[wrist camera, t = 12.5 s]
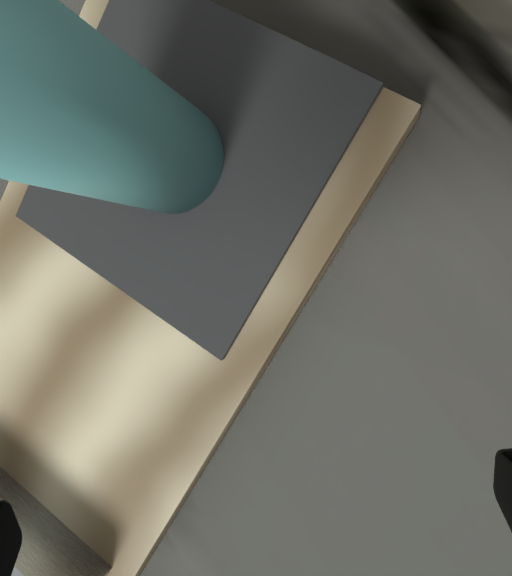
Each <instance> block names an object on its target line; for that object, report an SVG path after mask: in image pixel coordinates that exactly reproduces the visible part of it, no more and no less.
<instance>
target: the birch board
mask: <svg viewBox="0 0 512 576" xmlns="http://www.w3.org/2000/svg"><path fill="white" fill-rule="evenodd" d="M108 2H109V0H86V1H85V3H84V6H83V8H82V11H81V13H80V15H79V17H80V18H82V19H83V20H84V21H86V22H87V23H88V24H89V25H91V26H92V27H93V28H95V29H97V27H98V25H99V22H100V20H101V18H102V15H103V13H104V11H105V8H106V6H107V4H108ZM420 109H421V105H420V104H418V103H416V102H414V101H412V100H410V99H408V98H406V97H404V96H402V95H400V94H397V93H395V92H393V91H391V90H389V89H387V88H385V87H383V89H382V90H381V92H380V94H379V96H378V97H377V99H376V101H375V102H374V104H373V106H372V108H371V109H370V111H369V113H368V114H367V116H366V118H365V120H364V121H363V123H362V125H361V126H360V128H359V130H358V131H357V133H356V135H355V137H354V138H353V140H352V142H351V143H350V145H349V147H348V149H347V150H346V152H345V154H344V155H343V157H342V159H341V161H340V162H339V164H338V166H337V167H336V169H335V171H334V173H333V174H332V176H331V178H330V179H329V181H328V183H327V185H326V186H325V188H324V190H323V191H322V193H321V195H320V196H319V198H318V200H317V202H316V203H315V205H314V207H313V208H312V210H311V212H310V214H309V215H308V217H307V219H306V220H305V222H304V224H303V226H302V227H301V229H300V231H299V232H298V234H297V236H296V238H295V239H294V241H293V243H292V244H291V246H290V248H289V250H288V251H287V253H286V255H285V256H284V258H283V260H282V261H281V263H280V265H279V267H278V268H277V270H276V272H275V273H274V275H273V277H272V279H271V280H270V282H269V284H268V285H267V287H266V289H265V291H264V292H263V294H262V296H261V297H260V299H259V301H258V303H257V304H256V306H255V308H254V309H253V311H252V313H251V315H250V316H249V318H248V320H247V321H246V323H245V325H244V326H243V328H242V330H241V332H240V333H239V335H238V337H237V338H236V340H235V342H234V344H233V345H232V347H231V349H230V350H229V352H228V354H227V356H226V357H225V359H223V360H222V361H221V360H219V359H218V358H216V357H215V356H214V355H212V354H211V353H209V352H208V351H206V350H205V349H204V348H202V347H201V346H199V345H198V344H197V343H195V342H194V341H192V340H191V339H189V338H188V337H187V336H185V335H184V334H182V333H181V332H179V331H178V330H177V329H175V328H174V327H172V326H171V325H170V324H168V323H167V322H165V321H164V320H162V319H161V318H160V317H158V316H157V315H155V314H154V313H153V312H151V311H150V310H148V309H147V308H145V307H144V306H143V305H141V304H140V303H138V302H137V301H136V300H134V299H133V298H131V297H130V296H128V295H127V294H126V293H124V292H123V291H121V290H120V289H118V288H117V287H116V286H114V285H113V284H111V283H110V282H109V281H107V280H106V279H104V278H103V277H101V276H100V275H99V274H97V273H96V272H94V271H93V270H92V269H90V268H89V267H87V266H86V265H84V264H83V263H82V262H80V261H79V260H77V259H76V258H75V257H73V256H72V255H70V254H69V253H67V252H66V251H65V250H63V249H62V248H60V247H59V246H57V245H56V244H55V243H53V242H52V241H50V240H49V239H48V238H46V237H45V236H43V235H42V234H40V233H39V232H38V231H36V230H35V229H33V228H32V227H31V226H29V225H28V224H26V223H25V222H23V221H22V220H21V219H19V218H18V217H16V216H15V215H16V213H17V211H18V208H19V206H20V204H21V202H22V199H23V197H24V195H25V192H26V190H27V188H28V184H23V183H19V182H14V181H9V183H8V185H7V187H6V190H5V192H4V194H3V197H2V199H1V201H0V467H1V468H2V469H3V470H5V471H6V472H7V473H8V474H9V475H10V476H11V477H12V478H13V479H15V480H16V481H17V482H18V483H19V484H20V485H21V486H22V487H23V488H25V489H26V490H27V491H28V492H29V493H30V494H31V495H32V496H33V497H35V498H36V499H37V500H38V501H39V502H40V503H41V504H42V505H43V506H45V507H46V508H47V509H48V510H49V511H50V512H51V513H52V514H53V515H55V516H56V517H57V518H58V519H59V520H60V521H61V522H62V523H63V524H65V525H66V526H67V527H68V528H69V529H70V530H71V531H72V532H73V533H75V534H76V535H77V536H78V537H79V538H80V539H81V540H82V541H83V542H85V543H86V544H87V545H88V546H89V547H90V548H91V549H92V550H93V551H95V552H96V553H97V554H98V555H99V556H100V557H101V558H102V559H103V560H105V561H106V562H107V563H108V564H109V565H110V566H111V567H112V569H111V571H110V572H109V574H108V576H140V574H141V572H142V571H143V569H144V568H145V566H146V564H147V563H148V561H149V559H150V558H151V556H152V554H153V553H154V551H155V550H156V548H157V546H158V545H159V543H160V541H161V540H162V538H163V536H164V535H165V533H166V532H167V530H168V528H169V527H170V525H171V523H172V522H173V520H174V518H175V517H176V515H177V513H178V512H179V510H180V509H181V507H182V505H183V504H184V502H185V500H186V499H187V497H188V495H189V494H190V492H191V491H192V489H193V487H194V486H195V484H196V482H197V481H198V479H199V477H200V476H201V474H202V473H203V471H204V469H205V468H206V466H207V464H208V463H209V461H210V459H211V458H212V456H213V455H214V453H215V451H216V450H217V448H218V446H219V445H220V443H221V441H222V440H223V438H224V437H225V435H226V433H227V432H228V430H229V428H230V427H231V425H232V423H233V422H234V420H235V419H236V417H237V415H238V414H239V412H240V410H241V409H242V407H243V405H244V404H245V402H246V401H247V399H248V397H249V396H250V394H251V392H252V391H253V389H254V387H255V386H256V384H257V383H258V381H259V379H260V378H261V376H262V374H263V373H264V371H265V369H266V368H267V366H268V364H269V363H270V361H271V360H272V358H273V356H274V355H275V353H276V351H277V350H278V348H279V346H280V345H281V343H282V342H283V340H284V338H285V337H286V335H287V333H288V332H289V330H290V328H291V327H292V325H293V324H294V322H295V320H296V319H297V317H298V315H299V314H300V312H301V310H302V309H303V307H304V306H305V304H306V302H307V301H308V299H309V297H310V296H311V294H312V292H313V291H314V289H315V288H316V286H317V284H318V283H319V281H320V279H321V278H322V276H323V274H324V273H325V271H326V270H327V268H328V266H329V265H330V263H331V261H332V260H333V258H334V256H335V255H336V253H337V252H338V250H339V248H340V247H341V245H342V243H343V242H344V240H345V238H346V237H347V235H348V233H349V232H350V230H351V229H352V227H353V225H354V224H355V222H356V220H357V219H358V217H359V215H360V214H361V212H362V211H363V209H364V207H365V206H366V204H367V202H368V201H369V199H370V197H371V196H372V194H373V193H374V191H375V189H376V188H377V186H378V184H379V183H380V181H381V179H382V178H383V176H384V175H385V173H386V171H387V170H388V168H389V166H390V165H391V163H392V161H393V160H394V158H395V157H396V155H397V153H398V152H399V150H400V148H401V147H402V145H403V143H404V142H405V140H406V139H407V137H408V135H409V134H410V132H411V130H412V129H413V127H414V125H415V124H416V122H417V121H418V119H419V114H420Z"/></svg>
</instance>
